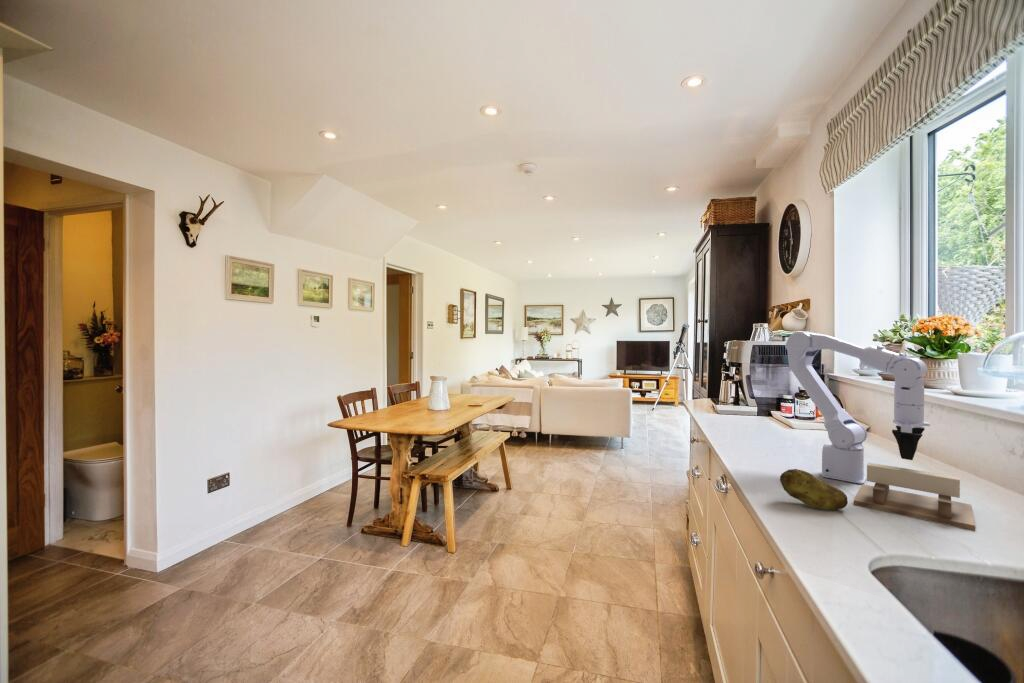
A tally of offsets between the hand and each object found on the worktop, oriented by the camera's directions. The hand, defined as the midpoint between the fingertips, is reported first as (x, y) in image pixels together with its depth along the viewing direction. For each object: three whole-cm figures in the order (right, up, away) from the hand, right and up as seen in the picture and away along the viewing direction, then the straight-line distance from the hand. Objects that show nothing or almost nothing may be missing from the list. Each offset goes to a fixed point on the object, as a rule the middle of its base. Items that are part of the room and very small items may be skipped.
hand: (908, 456), depth 112 cm
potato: (-31, -10, -9) cm, 34 cm away
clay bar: (-8, -5, -9) cm, 13 cm away
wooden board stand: (-8, -9, -9) cm, 15 cm away
